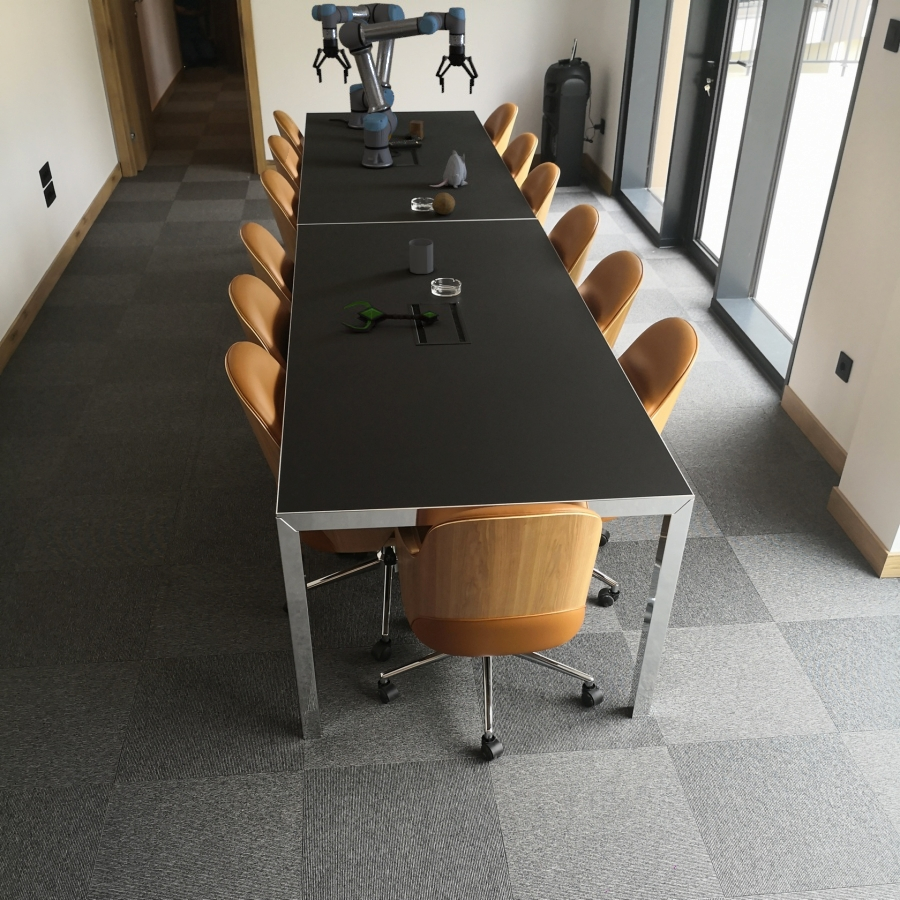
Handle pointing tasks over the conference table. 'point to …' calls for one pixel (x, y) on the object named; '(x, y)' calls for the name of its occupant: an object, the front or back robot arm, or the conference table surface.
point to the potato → (443, 203)
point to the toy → (454, 171)
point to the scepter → (385, 316)
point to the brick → (416, 128)
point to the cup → (421, 256)
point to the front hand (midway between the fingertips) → (456, 93)
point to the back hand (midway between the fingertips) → (333, 83)
